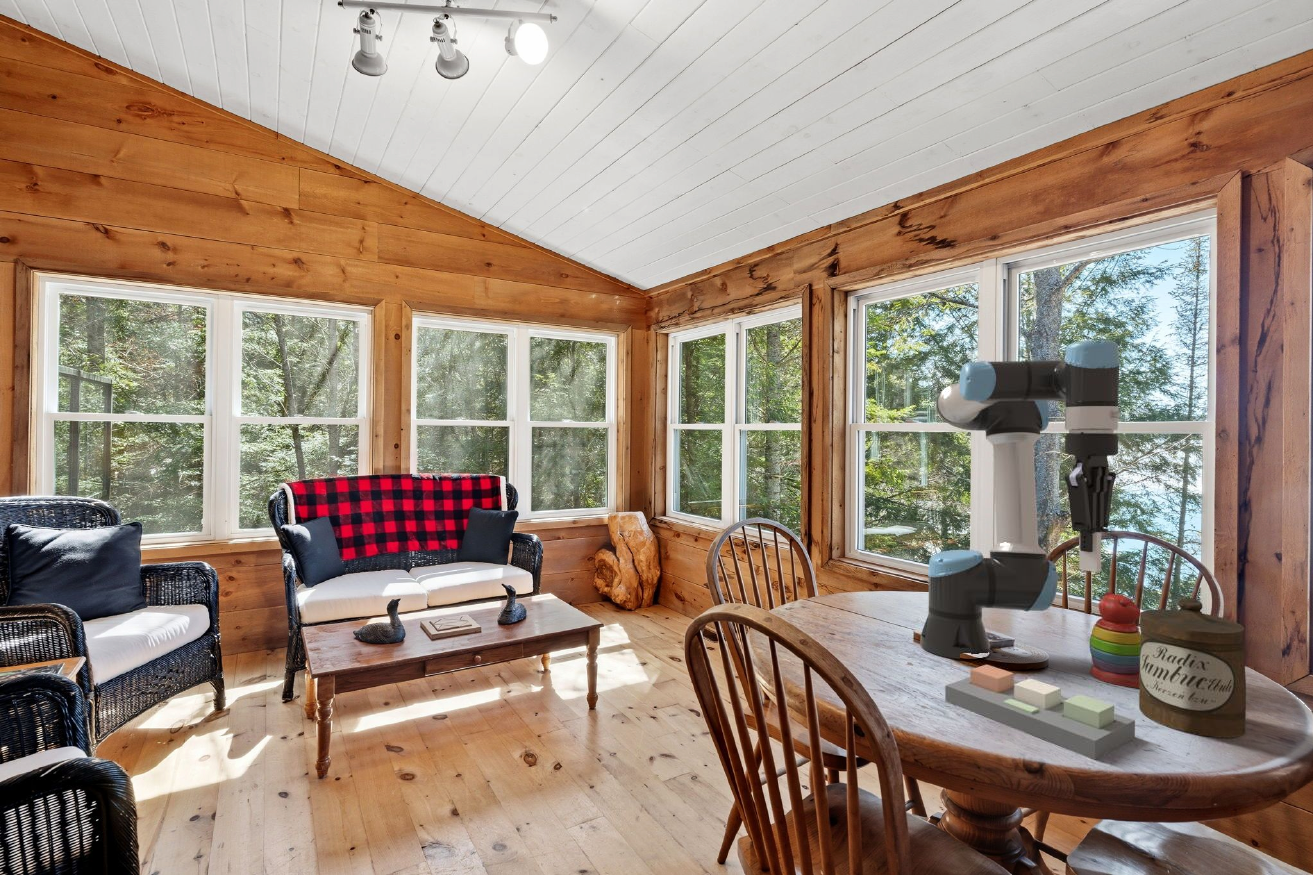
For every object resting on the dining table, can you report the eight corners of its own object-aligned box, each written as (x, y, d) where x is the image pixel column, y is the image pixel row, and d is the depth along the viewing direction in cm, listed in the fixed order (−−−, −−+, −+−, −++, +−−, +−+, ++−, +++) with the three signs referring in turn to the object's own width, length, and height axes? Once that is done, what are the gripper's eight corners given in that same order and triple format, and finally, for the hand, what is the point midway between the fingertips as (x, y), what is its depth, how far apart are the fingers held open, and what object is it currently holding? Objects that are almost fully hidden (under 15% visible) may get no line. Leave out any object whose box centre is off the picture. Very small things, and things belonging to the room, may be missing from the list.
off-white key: (1014, 700, 117) (1014, 684, 117) (1030, 694, 120) (1030, 678, 120) (1044, 711, 113) (1045, 694, 113) (1060, 704, 116) (1060, 688, 116)
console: (945, 700, 123) (945, 683, 123) (987, 686, 131) (987, 669, 131) (1094, 759, 101) (1095, 738, 101) (1134, 737, 109) (1135, 717, 109)
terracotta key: (970, 684, 125) (970, 669, 125) (986, 679, 128) (986, 664, 127) (997, 694, 120) (997, 678, 120) (1013, 688, 123) (1013, 673, 123)
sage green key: (1063, 718, 110) (1063, 700, 110) (1079, 711, 113) (1079, 694, 113) (1098, 730, 106) (1098, 712, 106) (1113, 722, 109) (1114, 705, 108)
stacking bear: (1159, 690, 129) (1160, 602, 129) (1103, 686, 131) (1104, 599, 131) (1131, 670, 140) (1132, 589, 140) (1079, 667, 142) (1080, 587, 142)
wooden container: (1127, 715, 117) (1128, 596, 117) (1153, 695, 126) (1154, 584, 126) (1234, 747, 106) (1235, 614, 105) (1254, 723, 115) (1255, 600, 114)
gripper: (1097, 432, 102) (1095, 579, 103) (1134, 432, 109) (1132, 570, 109) (1048, 432, 109) (1046, 570, 109) (1086, 432, 116) (1084, 562, 116)
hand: (1089, 570), depth 109 cm, fingers closed
